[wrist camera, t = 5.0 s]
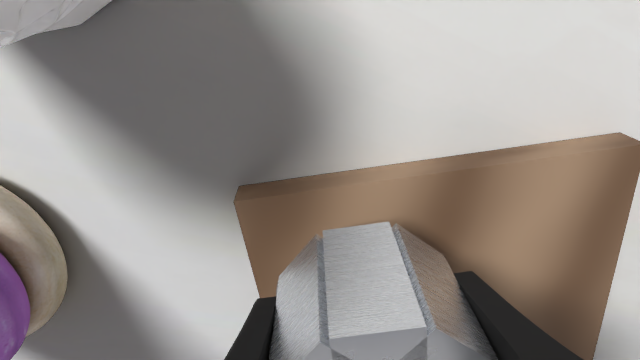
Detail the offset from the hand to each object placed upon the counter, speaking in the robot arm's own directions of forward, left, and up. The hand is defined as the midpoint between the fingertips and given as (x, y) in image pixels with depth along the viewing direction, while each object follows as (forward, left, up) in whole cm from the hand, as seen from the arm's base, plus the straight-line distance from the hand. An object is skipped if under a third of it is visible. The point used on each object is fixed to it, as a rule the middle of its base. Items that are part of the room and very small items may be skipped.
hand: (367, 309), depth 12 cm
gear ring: (0, 0, -1) cm, 1 cm away
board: (-3, +3, -4) cm, 6 cm away
